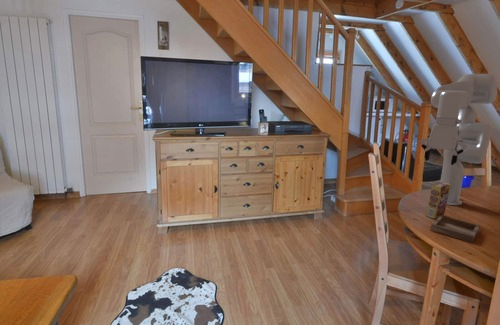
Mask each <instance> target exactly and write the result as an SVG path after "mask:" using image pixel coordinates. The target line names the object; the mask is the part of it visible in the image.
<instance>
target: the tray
mask: <svg viewBox="0 0 500 325" xmlns="http://www.w3.org/2000/svg"><path fill="white" fill-rule="evenodd" d="M435 219H436V220H435ZM435 219H434V221H433V222H432V223H431V225H430V231H431V232H435V233H437V234H442V235H445V236H448V237H450V238H451V237H452V238H455V239H458V240H462V241H465V242H469V243H471V244H473V242H474V240H475V239H476V237H477V235H478V234H479V232H480V228H481V225H479V224H475V223H471V222H467V221H463V220H459V219H456V218H452V217H448V216H445V215H443V216H441V215H440V216H439V217H438V218H435Z"/></svg>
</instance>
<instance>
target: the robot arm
mask: <svg viewBox="0 0 500 325" xmlns="http://www.w3.org/2000/svg"><path fill="white" fill-rule="evenodd" d="M497 97H498V83H497V78H496V76H495V75H494V74H491V73H469V74H465V75H462V76H461V77H460V78H459V79H458V80H457V81H455V82H452V83H448V84H443V85H441V86H439V87H437V88H436V89H435V90H434V91H433V93H432V95H431V97H430V104H431V106H432V107H433V108H436V109H437V112H436V117H435V118H436V119H435V123H433V126H432V128H431V131H430V134H429V137H427V138H423V139H421V140H419V142H420V145H421V147H422V149H423V150H424V160H425V161H426V162H427V161H429V160H430V156H431V151H430V150H431V149H437V150H443V163H442V170H441V175H440V181H439V183H441V182H443V183H448V184H450V190H449V195H448V199H447V204H446V205H449V206H461V205H463V200H461V199H460V196H461V192H462V186H463V182H464V181H463V180H464V175H465V167H464V166H463V164H462V163H461V162H464V163H472V164H482V163H483V162H484V161H485V159H486V156H487V152H488V149H489V144H490V140H491V137H492V127H491V125H490V124H489V123H483V122H476V119H477V117H478V116H477V115H478V114H477V111H476V109H475V108H474V107H473V106H472V104H483V105H485V104H486V105H487V104H488V105H489V104H492V103H494V102H495V101H496V99H497ZM465 141H466V142H465ZM425 142H427V144H428V146H427V144H426V143H425ZM471 142H472V143H471Z"/></svg>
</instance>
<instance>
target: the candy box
mask: <svg viewBox="0 0 500 325" xmlns="http://www.w3.org/2000/svg"><path fill="white" fill-rule="evenodd" d="M430 190H431V191H430V194H429V200H428V205H427V210H426V214H425V215H426V217H428V218H431V219H433V220H435V219H437V218H438V217H439V216H440V215H441V216H445V213H446V209H447V205H448V204H447V199H448V195H449V190H450V184H448V183H443V182H441V183H440V182H438V183H434V184H432V185H431V189H430Z"/></svg>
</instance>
